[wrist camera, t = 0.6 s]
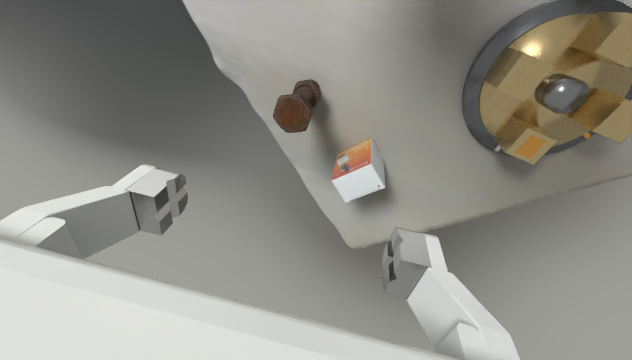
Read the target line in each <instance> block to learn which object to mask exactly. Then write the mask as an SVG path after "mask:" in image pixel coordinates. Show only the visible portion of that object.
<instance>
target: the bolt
mask: <svg viewBox="0 0 632 360" xmlns="http://www.w3.org/2000/svg"><path fill="white" fill-rule="evenodd" d="M320 94H321V91H320V89H319V85H318V83H317V82H316V81H314V80H311V79H310V80H304V81H299V82H297V83H296V85H295V88H294V90H293V94H290V95H282V96H280V97H279V98H278V101H277V103H276V106H275V110H274V113H273V118H274V119H275V121H276V122H277V124H278V125H279V126H280V127H281V128H282V129H283V130H284V131H285V132H288V133H295V132H302V131H306V129H307V127H308V124H309V122H310V119H311V116H312V114H313V111H314V109H313V108H314V107H315V106H316V104H317V102H318V99H319V96H320Z"/></svg>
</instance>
